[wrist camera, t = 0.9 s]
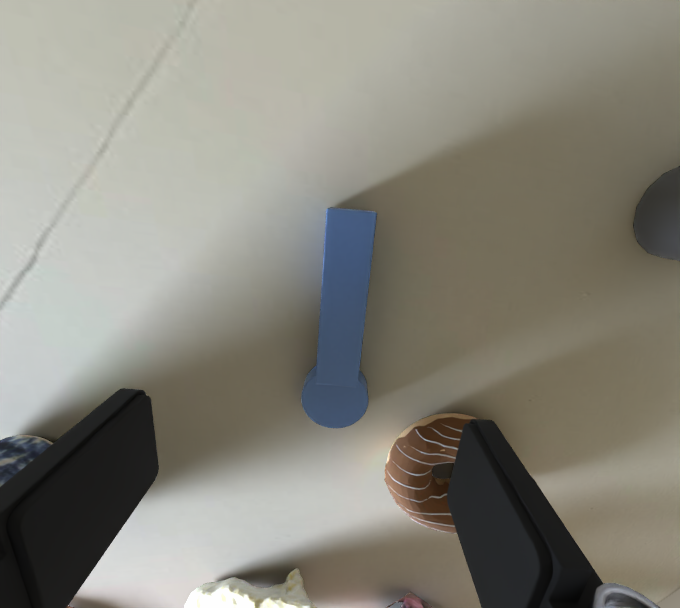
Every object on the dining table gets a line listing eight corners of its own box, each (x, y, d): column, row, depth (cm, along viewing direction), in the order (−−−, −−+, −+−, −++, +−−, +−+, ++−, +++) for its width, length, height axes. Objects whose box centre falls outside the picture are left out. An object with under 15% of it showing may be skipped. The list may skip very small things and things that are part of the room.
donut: (440, 517, 30) (453, 562, 26) (358, 457, 28) (359, 496, 24) (530, 451, 28) (559, 491, 24) (447, 379, 26) (464, 410, 22)
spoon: (313, 205, 22) (308, 206, 19) (389, 212, 22) (395, 214, 19) (302, 411, 27) (296, 438, 24) (363, 416, 27) (365, 444, 24)
